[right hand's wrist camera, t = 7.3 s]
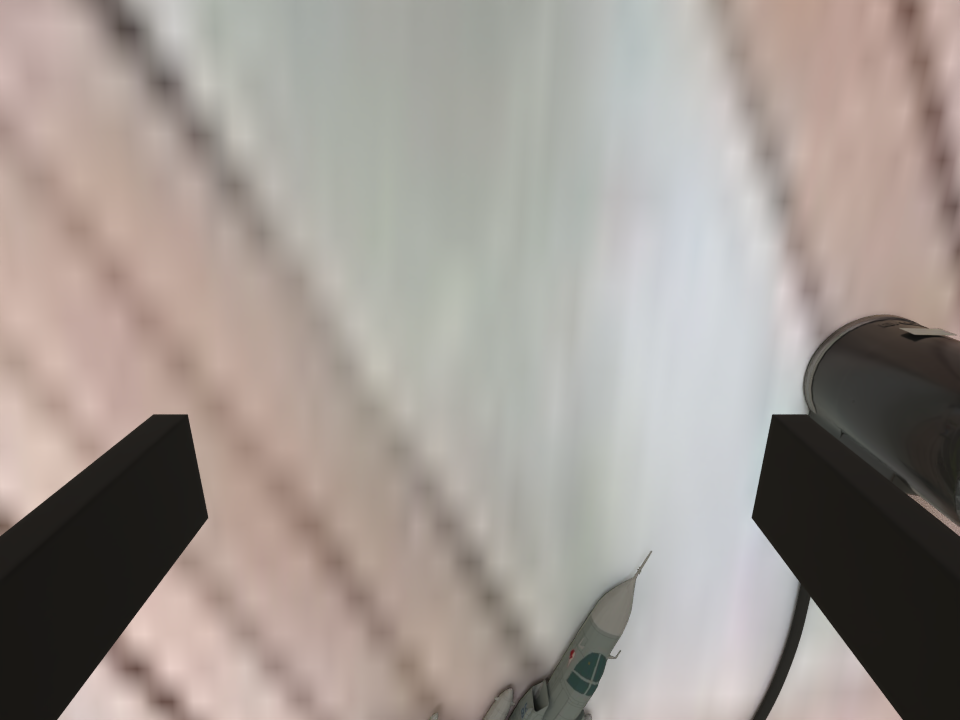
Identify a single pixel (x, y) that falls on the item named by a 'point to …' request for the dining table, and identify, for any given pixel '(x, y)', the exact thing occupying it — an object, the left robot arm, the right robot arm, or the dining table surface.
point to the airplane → (574, 665)
